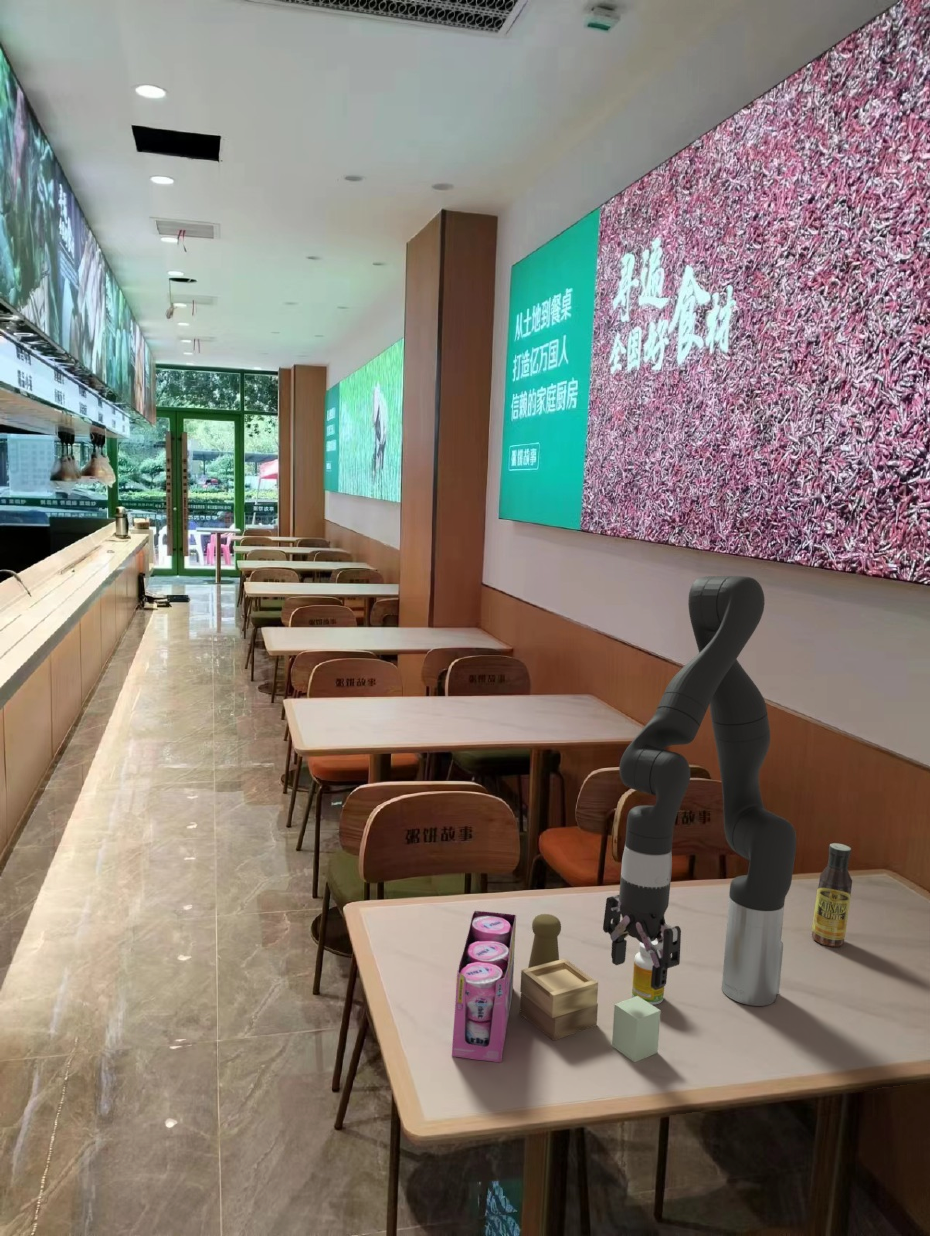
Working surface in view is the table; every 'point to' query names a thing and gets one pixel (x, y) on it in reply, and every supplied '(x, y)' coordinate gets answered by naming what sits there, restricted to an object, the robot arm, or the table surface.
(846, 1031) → the table surface
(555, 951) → the cork
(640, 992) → the supplement bottle
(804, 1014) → the table surface
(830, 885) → the sauce bottle
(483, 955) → the gum box
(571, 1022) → the block bottom
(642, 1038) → the green block
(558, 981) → the block top
